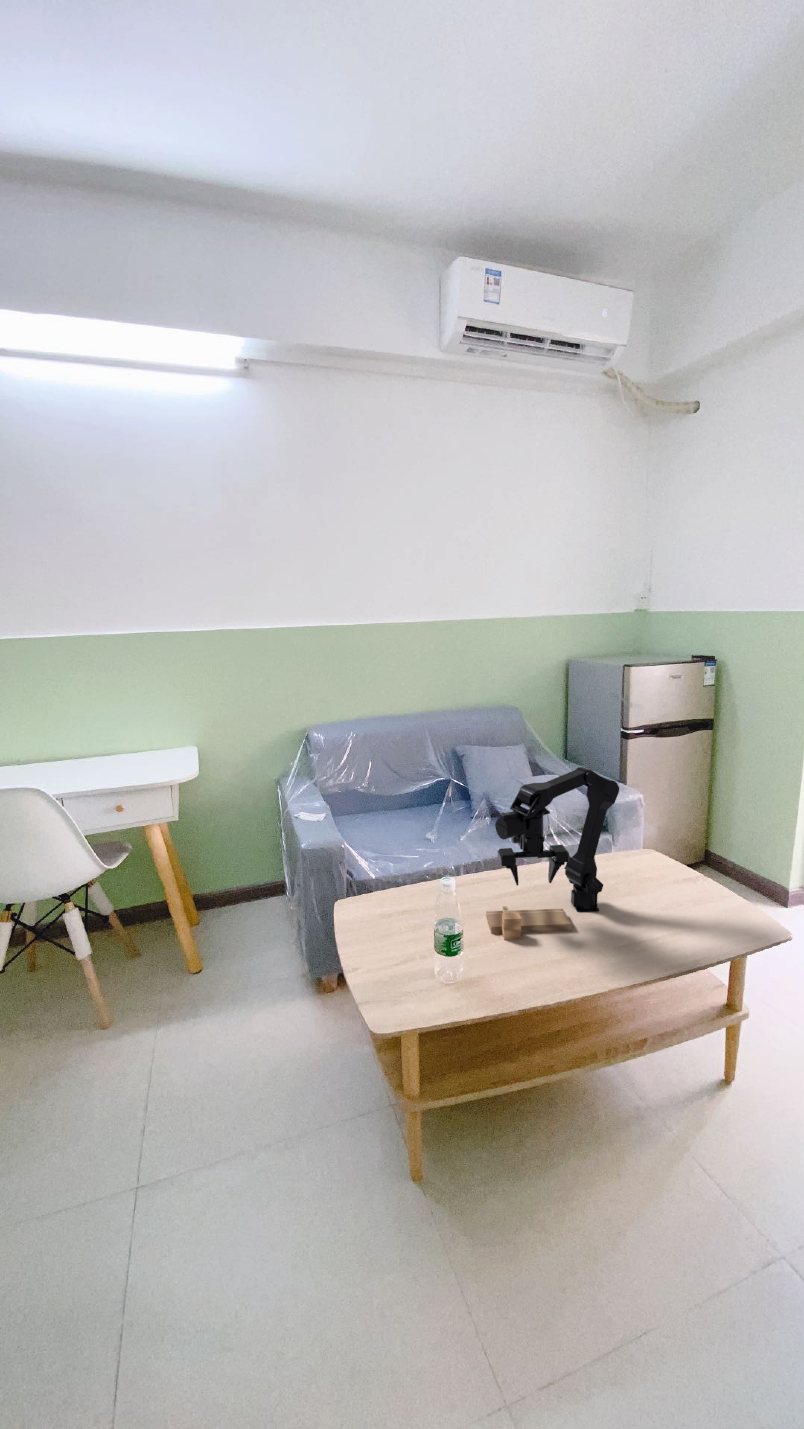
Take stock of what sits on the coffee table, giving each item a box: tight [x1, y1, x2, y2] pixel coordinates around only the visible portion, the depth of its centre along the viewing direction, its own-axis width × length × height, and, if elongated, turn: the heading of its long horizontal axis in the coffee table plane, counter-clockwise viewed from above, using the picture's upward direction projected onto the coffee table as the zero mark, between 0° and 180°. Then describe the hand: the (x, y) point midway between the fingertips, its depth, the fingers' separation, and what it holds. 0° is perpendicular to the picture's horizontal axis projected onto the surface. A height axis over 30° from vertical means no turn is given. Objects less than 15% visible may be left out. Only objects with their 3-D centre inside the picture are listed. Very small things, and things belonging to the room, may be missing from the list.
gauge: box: [501, 905, 522, 941], centre depth 149 cm, size 4×11×6 cm, turn 1°
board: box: [485, 908, 573, 935], centre depth 152 cm, size 22×8×2 cm, turn 91°
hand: (533, 883), depth 151 cm, fingers open, 9 cm apart
